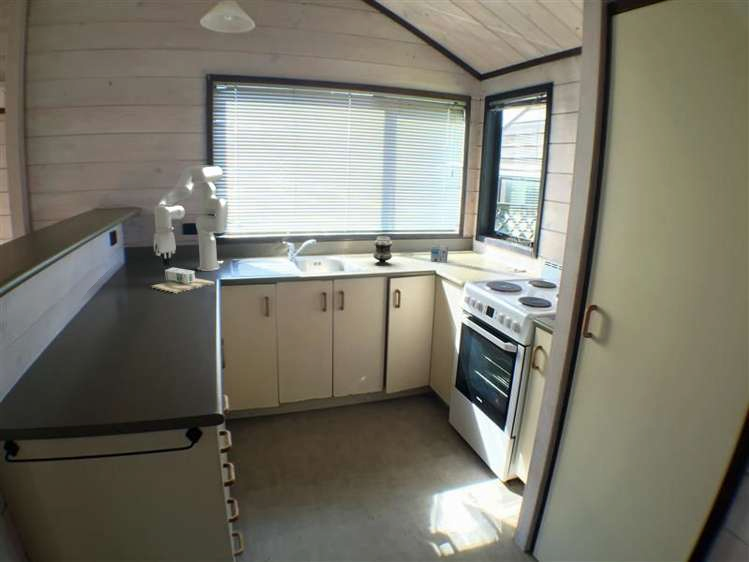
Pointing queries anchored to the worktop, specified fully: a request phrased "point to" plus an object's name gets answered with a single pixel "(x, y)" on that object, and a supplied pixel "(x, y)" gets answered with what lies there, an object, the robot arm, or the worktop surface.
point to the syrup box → (180, 275)
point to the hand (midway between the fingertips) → (166, 265)
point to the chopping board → (182, 285)
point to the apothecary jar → (382, 250)
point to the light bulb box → (439, 253)
